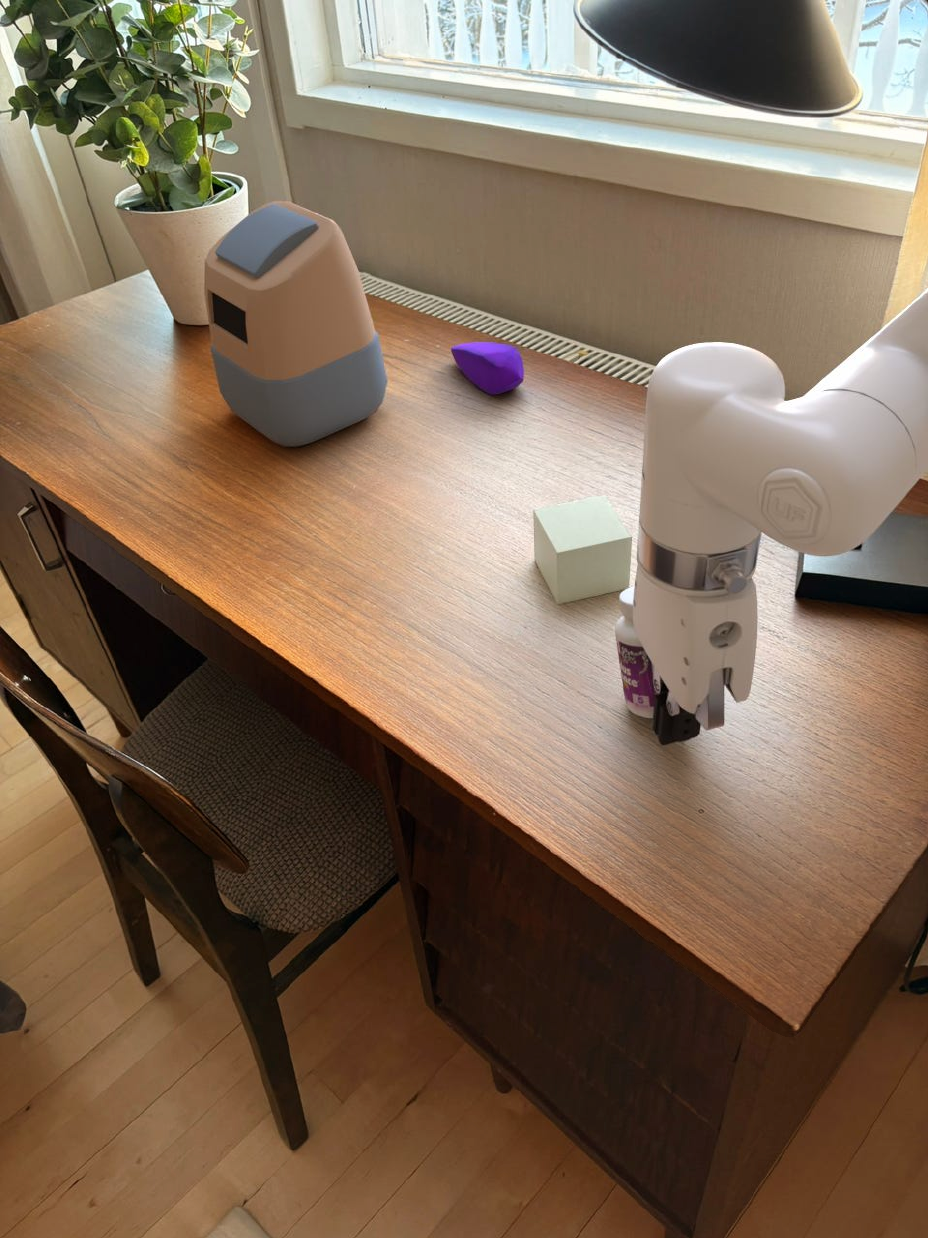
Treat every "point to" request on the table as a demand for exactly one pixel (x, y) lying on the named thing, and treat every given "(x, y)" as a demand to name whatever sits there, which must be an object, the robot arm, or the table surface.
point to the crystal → (490, 365)
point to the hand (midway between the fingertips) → (675, 733)
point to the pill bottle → (634, 662)
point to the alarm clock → (292, 326)
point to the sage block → (582, 549)
